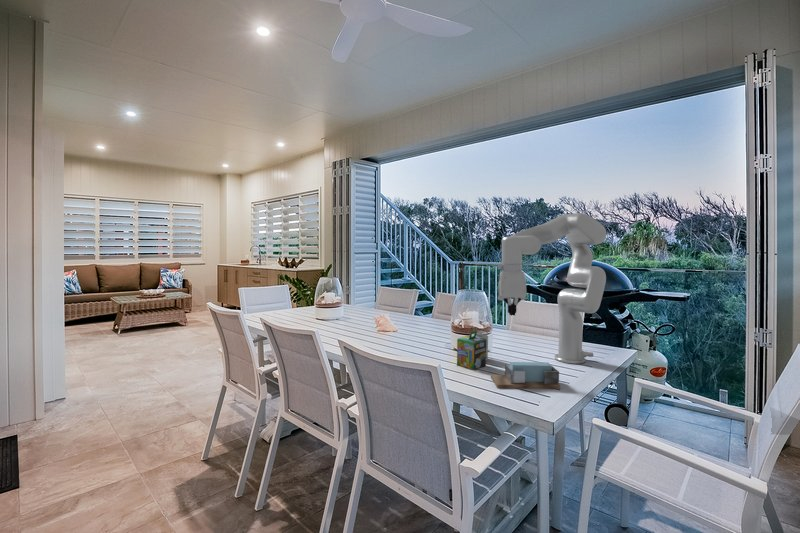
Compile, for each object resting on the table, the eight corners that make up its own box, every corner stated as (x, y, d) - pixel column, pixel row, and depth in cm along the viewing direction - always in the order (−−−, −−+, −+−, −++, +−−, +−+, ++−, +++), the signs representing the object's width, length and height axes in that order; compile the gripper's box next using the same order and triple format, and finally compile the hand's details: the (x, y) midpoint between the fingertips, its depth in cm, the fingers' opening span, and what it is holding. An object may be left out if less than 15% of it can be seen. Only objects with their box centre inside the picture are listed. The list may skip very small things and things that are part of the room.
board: (549, 378, 150) (549, 363, 150) (560, 389, 139) (560, 373, 139) (490, 377, 151) (491, 362, 151) (497, 388, 140) (497, 372, 140)
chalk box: (468, 361, 173) (469, 327, 172) (486, 365, 167) (487, 330, 166) (455, 365, 167) (456, 330, 166) (474, 370, 160) (474, 334, 159)
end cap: (518, 375, 149) (518, 364, 149) (524, 383, 141) (525, 371, 141) (505, 375, 150) (505, 364, 149) (510, 382, 141) (510, 371, 141)
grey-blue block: (547, 378, 147) (548, 362, 147) (551, 382, 143) (551, 365, 143) (509, 377, 147) (509, 361, 147) (512, 381, 143) (512, 365, 143)
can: (486, 356, 180) (487, 330, 179) (488, 361, 172) (489, 334, 172) (469, 356, 181) (470, 330, 180) (471, 360, 173) (471, 333, 172)
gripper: (494, 269, 151) (495, 317, 152) (534, 268, 151) (534, 316, 152) (490, 268, 158) (490, 313, 160) (528, 267, 158) (528, 312, 159)
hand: (512, 314), depth 156 cm, fingers closed
